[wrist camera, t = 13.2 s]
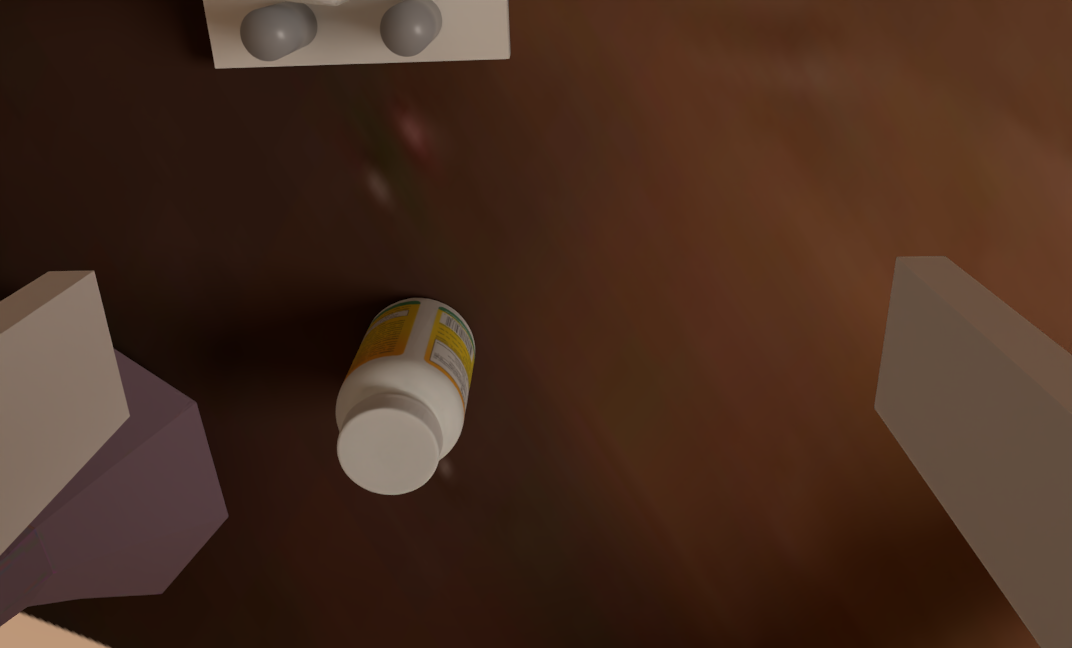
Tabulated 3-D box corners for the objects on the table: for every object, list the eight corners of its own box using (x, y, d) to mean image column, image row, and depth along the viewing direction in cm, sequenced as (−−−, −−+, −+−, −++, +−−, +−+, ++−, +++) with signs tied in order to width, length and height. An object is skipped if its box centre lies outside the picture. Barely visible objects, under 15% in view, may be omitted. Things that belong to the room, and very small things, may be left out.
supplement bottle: (487, 310, 41) (473, 412, 32) (461, 403, 43) (441, 523, 34) (377, 281, 40) (331, 378, 32) (356, 377, 42) (308, 493, 34)
